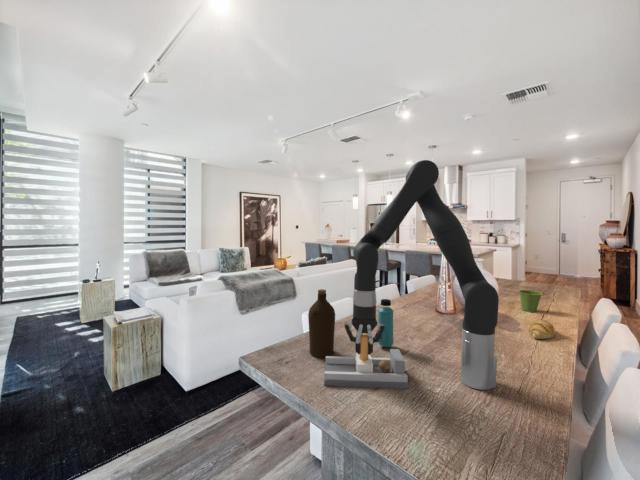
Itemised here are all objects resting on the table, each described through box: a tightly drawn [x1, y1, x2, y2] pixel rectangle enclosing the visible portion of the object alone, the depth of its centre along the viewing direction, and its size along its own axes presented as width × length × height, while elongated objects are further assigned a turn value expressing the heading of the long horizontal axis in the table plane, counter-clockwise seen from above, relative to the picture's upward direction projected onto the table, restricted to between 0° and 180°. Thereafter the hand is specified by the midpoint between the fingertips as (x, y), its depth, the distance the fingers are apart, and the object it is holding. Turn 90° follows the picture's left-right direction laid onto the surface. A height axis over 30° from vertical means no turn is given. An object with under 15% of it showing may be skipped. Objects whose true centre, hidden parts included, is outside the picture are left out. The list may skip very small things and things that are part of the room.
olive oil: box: [307, 288, 336, 358], centre depth 117 cm, size 11×11×25 cm
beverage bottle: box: [377, 298, 395, 348], centre depth 123 cm, size 6×7×20 cm
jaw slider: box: [355, 333, 373, 373], centre depth 99 cm, size 5×9×12 cm, turn 177°
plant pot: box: [518, 289, 543, 313], centre depth 177 cm, size 12×12×11 cm
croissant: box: [527, 319, 555, 340], centre depth 139 cm, size 21×10×8 cm, turn 133°
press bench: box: [323, 348, 409, 389], centre depth 100 cm, size 26×14×8 cm, turn 87°
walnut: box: [379, 360, 391, 373], centre depth 99 cm, size 4×4×4 cm
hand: (363, 353), depth 99 cm, fingers closed on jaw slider, 3 cm apart
